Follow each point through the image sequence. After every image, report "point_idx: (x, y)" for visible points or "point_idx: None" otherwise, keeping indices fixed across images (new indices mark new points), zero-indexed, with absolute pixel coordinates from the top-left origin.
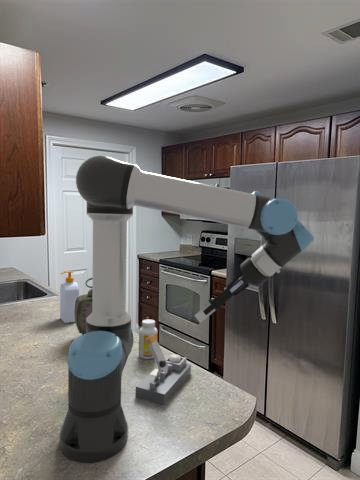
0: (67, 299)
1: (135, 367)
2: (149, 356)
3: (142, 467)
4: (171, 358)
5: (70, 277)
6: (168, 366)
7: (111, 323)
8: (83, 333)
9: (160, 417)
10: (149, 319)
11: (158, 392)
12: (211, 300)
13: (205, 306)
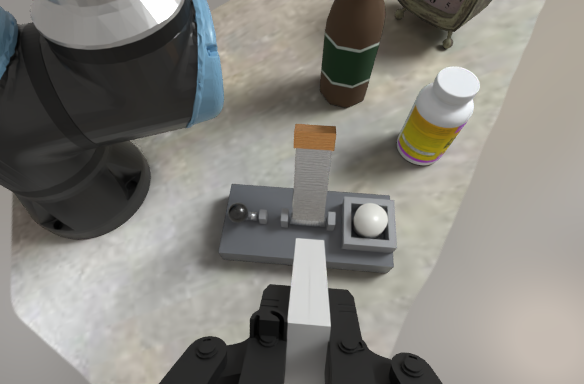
0: None
1: (350, 146)
2: (403, 153)
3: (29, 290)
4: (355, 213)
5: None
6: (323, 219)
7: (35, 17)
8: (401, 2)
9: (177, 268)
10: (475, 77)
11: (222, 236)
12: (278, 334)
13: (291, 289)
